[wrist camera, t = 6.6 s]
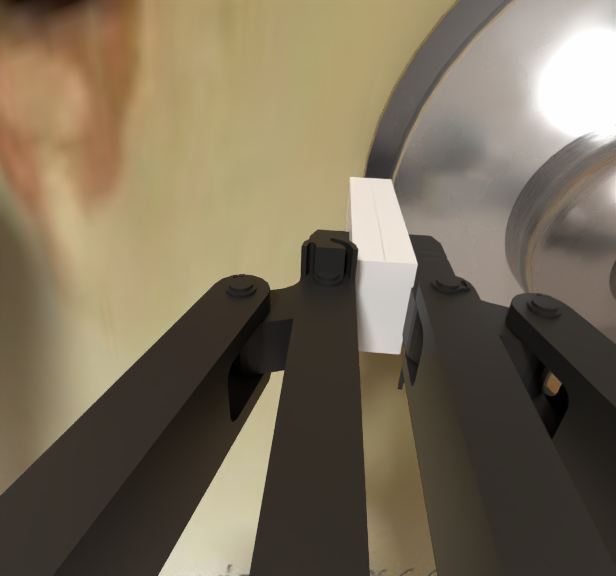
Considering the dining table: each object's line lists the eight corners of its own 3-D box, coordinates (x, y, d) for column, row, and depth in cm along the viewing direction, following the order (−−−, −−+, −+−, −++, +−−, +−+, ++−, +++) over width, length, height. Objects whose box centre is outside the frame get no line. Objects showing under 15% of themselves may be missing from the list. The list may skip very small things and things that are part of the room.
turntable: (350, 432, 27) (350, 474, 24) (428, -111, 13) (446, -145, 11) (680, 466, 25) (717, 514, 23) (1121, -88, 12) (1324, -120, 10)
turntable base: (341, 366, 25) (340, 380, 24) (398, -144, 14) (402, -158, 13) (727, 402, 24) (743, 419, 23) (1141, -123, 13) (1211, -136, 12)
